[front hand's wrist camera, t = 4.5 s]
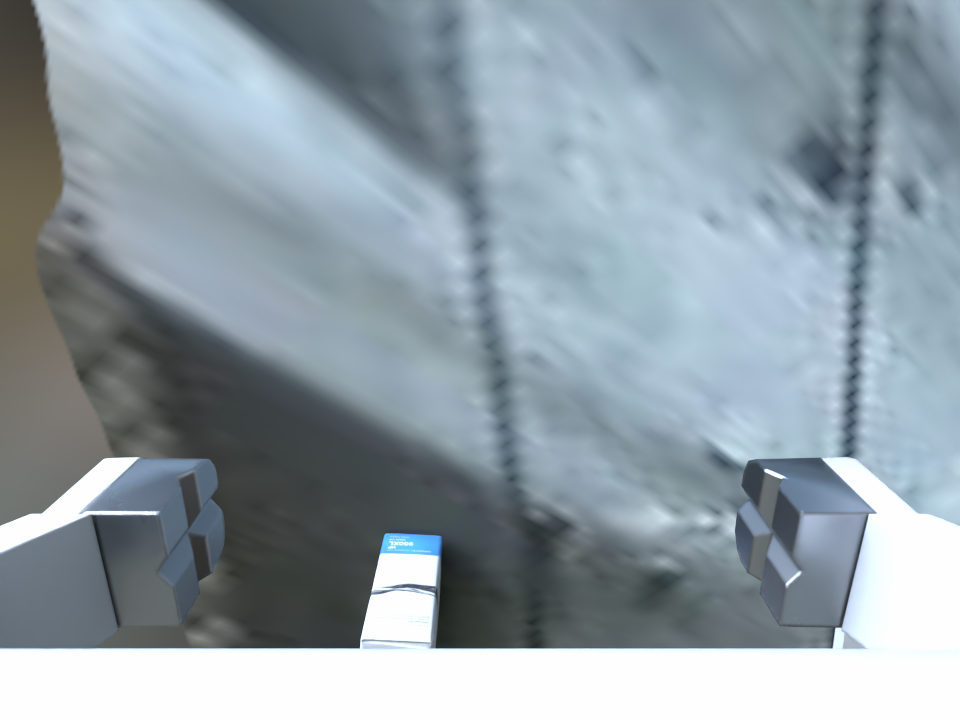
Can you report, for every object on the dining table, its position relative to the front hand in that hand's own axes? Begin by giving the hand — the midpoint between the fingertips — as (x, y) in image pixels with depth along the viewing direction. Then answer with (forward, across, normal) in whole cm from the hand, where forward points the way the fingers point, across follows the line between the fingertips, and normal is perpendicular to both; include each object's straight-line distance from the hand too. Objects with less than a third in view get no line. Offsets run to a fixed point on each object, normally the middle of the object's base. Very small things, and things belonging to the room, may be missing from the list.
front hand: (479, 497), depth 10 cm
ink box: (+36, -6, -30) cm, 48 cm away
